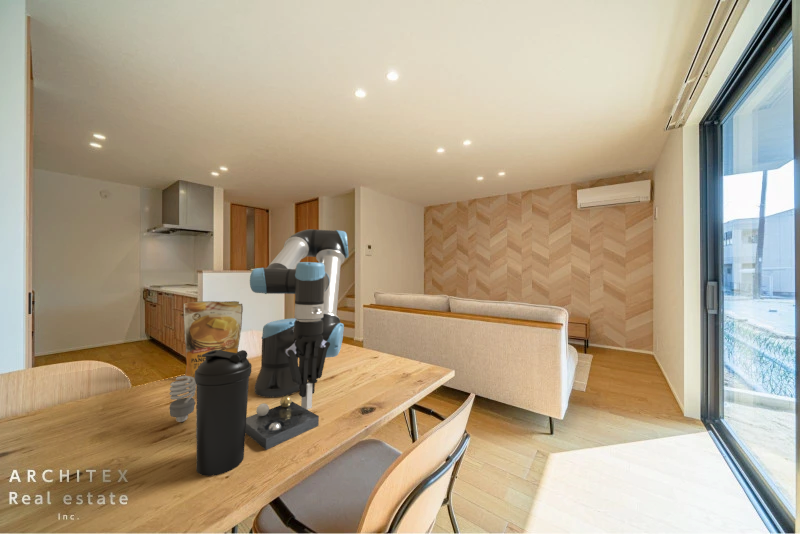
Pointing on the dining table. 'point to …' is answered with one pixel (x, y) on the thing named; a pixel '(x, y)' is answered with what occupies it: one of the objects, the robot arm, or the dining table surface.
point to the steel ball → (274, 426)
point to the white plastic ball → (262, 409)
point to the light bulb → (182, 398)
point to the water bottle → (221, 411)
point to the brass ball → (285, 401)
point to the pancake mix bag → (210, 330)
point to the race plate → (290, 419)
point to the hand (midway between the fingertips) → (306, 407)
